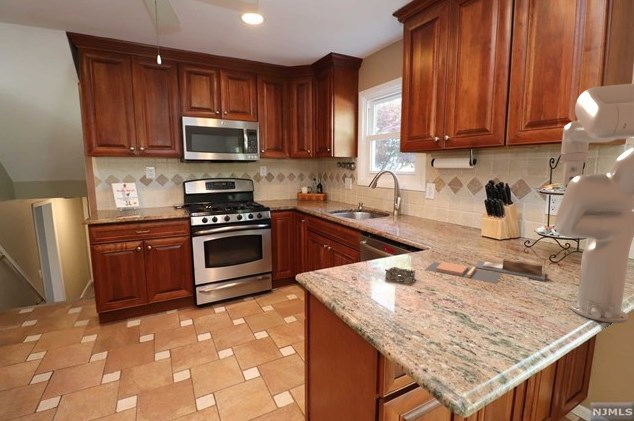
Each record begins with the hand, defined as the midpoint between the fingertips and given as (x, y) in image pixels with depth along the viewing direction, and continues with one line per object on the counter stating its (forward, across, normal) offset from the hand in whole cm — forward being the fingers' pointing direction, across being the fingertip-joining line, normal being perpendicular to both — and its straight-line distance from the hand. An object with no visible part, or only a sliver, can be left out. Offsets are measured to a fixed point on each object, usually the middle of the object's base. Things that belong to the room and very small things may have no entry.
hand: (568, 205), depth 115 cm
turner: (+27, -3, +17) cm, 32 cm away
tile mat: (+28, -16, +32) cm, 46 cm away
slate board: (+28, -3, +17) cm, 33 cm away
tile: (+27, -16, +31) cm, 44 cm away
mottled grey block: (+29, -36, +50) cm, 68 cm away
